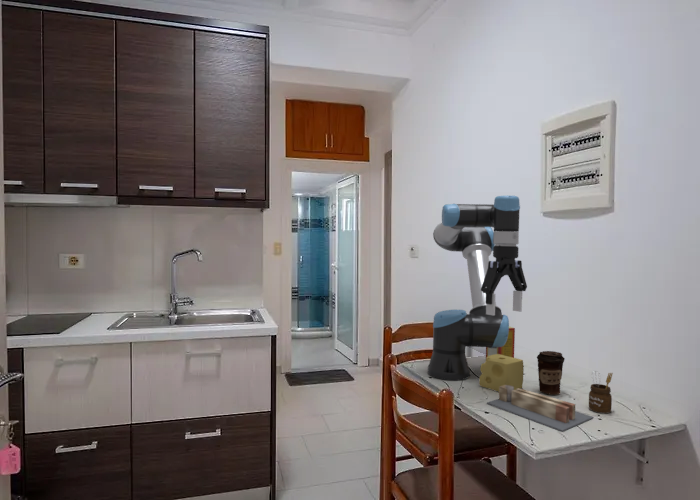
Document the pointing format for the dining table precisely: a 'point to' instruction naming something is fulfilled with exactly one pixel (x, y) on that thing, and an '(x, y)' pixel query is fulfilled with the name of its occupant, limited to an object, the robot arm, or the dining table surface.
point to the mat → (541, 416)
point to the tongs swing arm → (571, 405)
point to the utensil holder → (600, 396)
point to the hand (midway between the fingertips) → (504, 313)
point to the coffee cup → (550, 371)
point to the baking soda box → (507, 348)
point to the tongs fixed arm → (534, 403)
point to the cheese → (501, 372)
